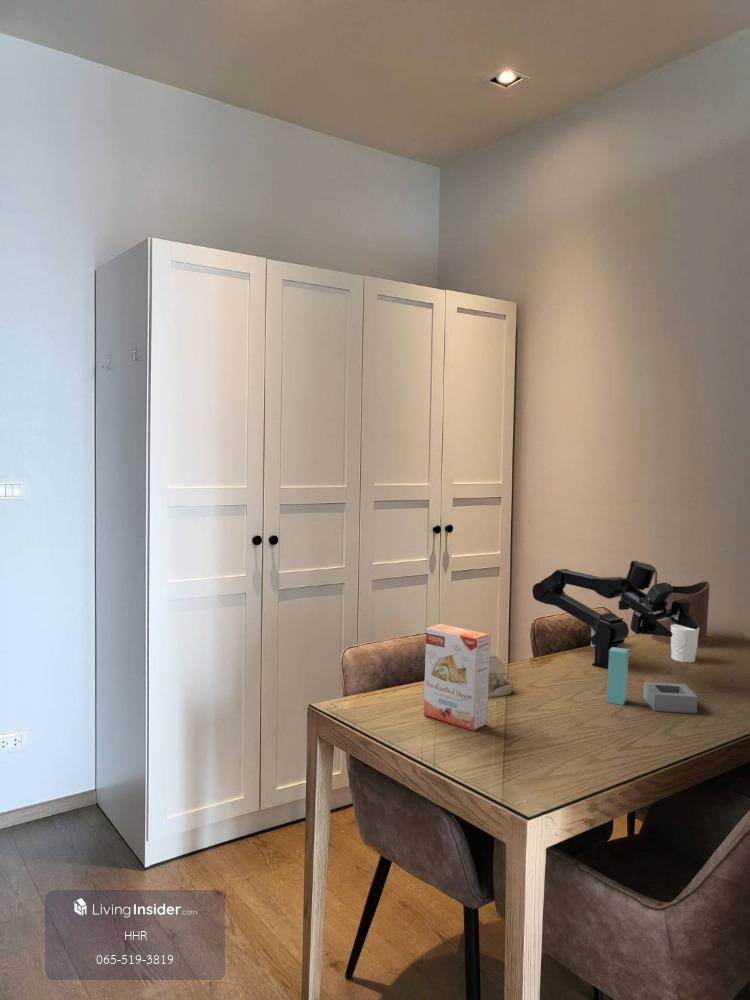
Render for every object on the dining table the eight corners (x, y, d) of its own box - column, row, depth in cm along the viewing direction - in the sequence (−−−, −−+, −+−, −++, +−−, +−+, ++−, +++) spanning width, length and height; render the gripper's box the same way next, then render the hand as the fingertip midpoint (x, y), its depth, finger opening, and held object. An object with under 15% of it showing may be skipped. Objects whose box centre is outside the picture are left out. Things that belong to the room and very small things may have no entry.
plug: (606, 702, 190) (609, 650, 189) (609, 697, 194) (612, 647, 193) (623, 705, 188) (625, 652, 188) (626, 700, 192) (628, 649, 191)
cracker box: (422, 716, 177) (424, 626, 175) (437, 710, 181) (440, 622, 180) (472, 732, 167) (476, 637, 166) (488, 725, 172) (491, 633, 171)
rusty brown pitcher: (716, 650, 244) (720, 572, 243) (637, 644, 249) (641, 568, 248) (703, 637, 263) (707, 564, 261) (630, 631, 267) (633, 560, 266)
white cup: (663, 657, 234) (665, 625, 234) (682, 655, 238) (684, 623, 237) (683, 664, 227) (685, 630, 227) (703, 661, 230) (704, 628, 230)
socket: (653, 710, 185) (654, 694, 184) (643, 697, 195) (644, 682, 194) (696, 713, 184) (697, 696, 183) (684, 699, 194) (684, 684, 193)
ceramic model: (467, 699, 190) (468, 659, 189) (449, 686, 200) (450, 648, 200) (518, 695, 194) (520, 656, 193) (498, 682, 204) (499, 645, 204)
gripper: (620, 583, 206) (664, 611, 194) (671, 571, 214) (716, 597, 201) (613, 619, 211) (656, 649, 198) (664, 606, 219) (707, 634, 206)
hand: (684, 631), depth 201 cm, fingers open, 9 cm apart
